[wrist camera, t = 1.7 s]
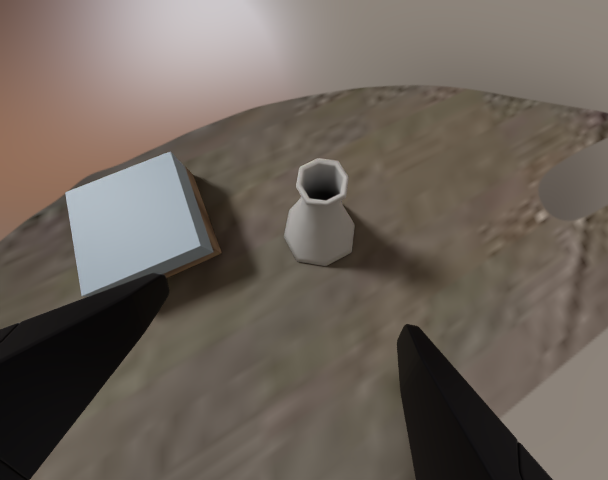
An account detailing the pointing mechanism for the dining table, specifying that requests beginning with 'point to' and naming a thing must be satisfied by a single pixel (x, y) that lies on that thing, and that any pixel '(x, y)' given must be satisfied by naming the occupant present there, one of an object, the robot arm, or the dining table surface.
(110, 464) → the dining table surface
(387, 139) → the dining table surface
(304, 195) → the flask
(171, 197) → the pale blue square slab
